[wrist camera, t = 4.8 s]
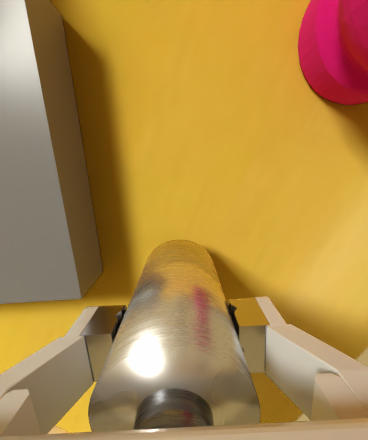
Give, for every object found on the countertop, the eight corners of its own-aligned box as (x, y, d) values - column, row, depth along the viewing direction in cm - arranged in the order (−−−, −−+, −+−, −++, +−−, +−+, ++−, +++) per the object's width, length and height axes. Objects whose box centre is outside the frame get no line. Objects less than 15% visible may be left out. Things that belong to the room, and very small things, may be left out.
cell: (140, 241, 12) (50, 390, 4) (214, 237, 11) (278, 378, 4) (148, 306, 12) (88, 534, 5) (216, 302, 12) (272, 527, 5)
